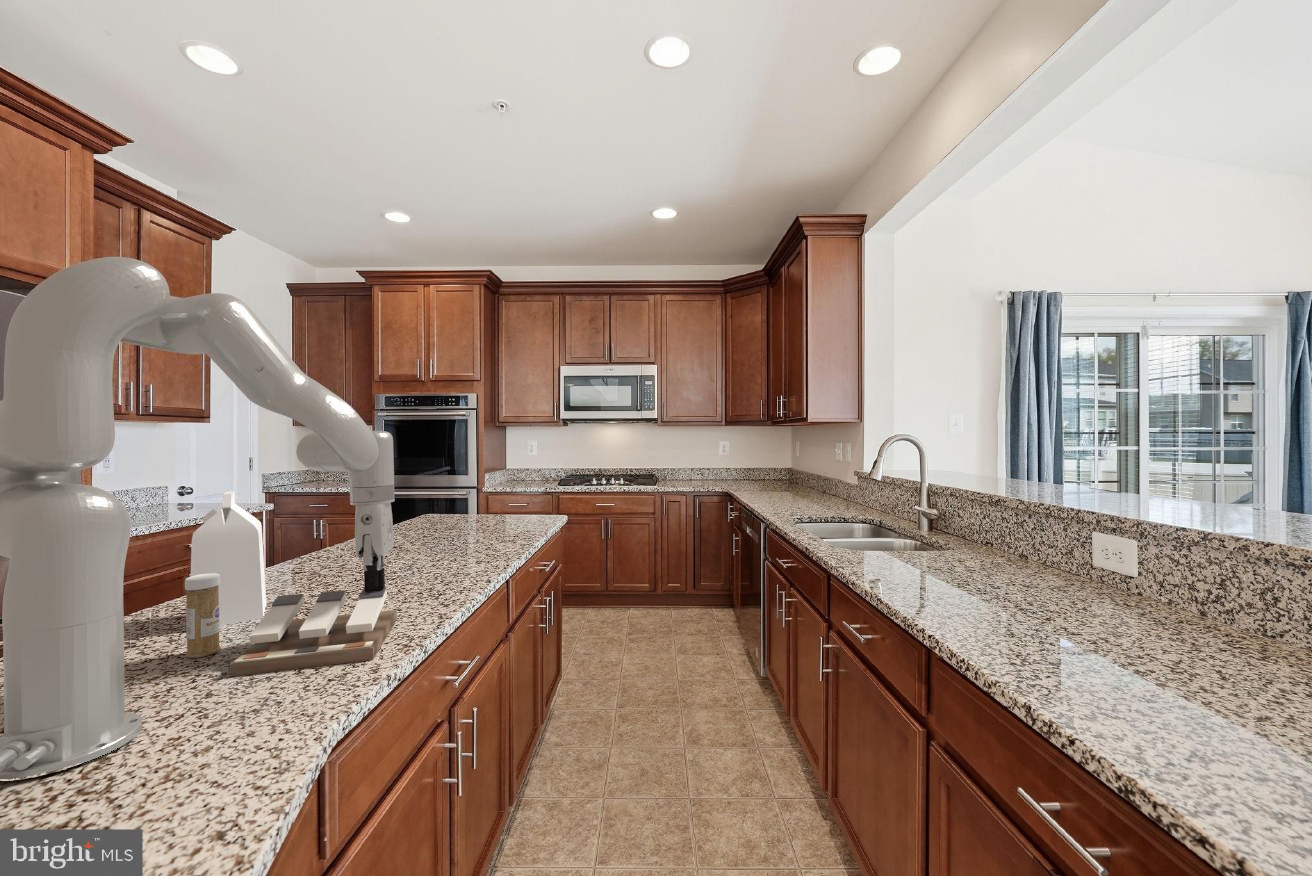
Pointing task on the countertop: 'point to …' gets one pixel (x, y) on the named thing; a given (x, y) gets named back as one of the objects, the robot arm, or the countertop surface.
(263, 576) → the milk
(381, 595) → the block
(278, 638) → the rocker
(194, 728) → the countertop surface
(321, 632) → the rocker middle
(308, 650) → the switch unit
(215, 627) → the sprinkles bottle
